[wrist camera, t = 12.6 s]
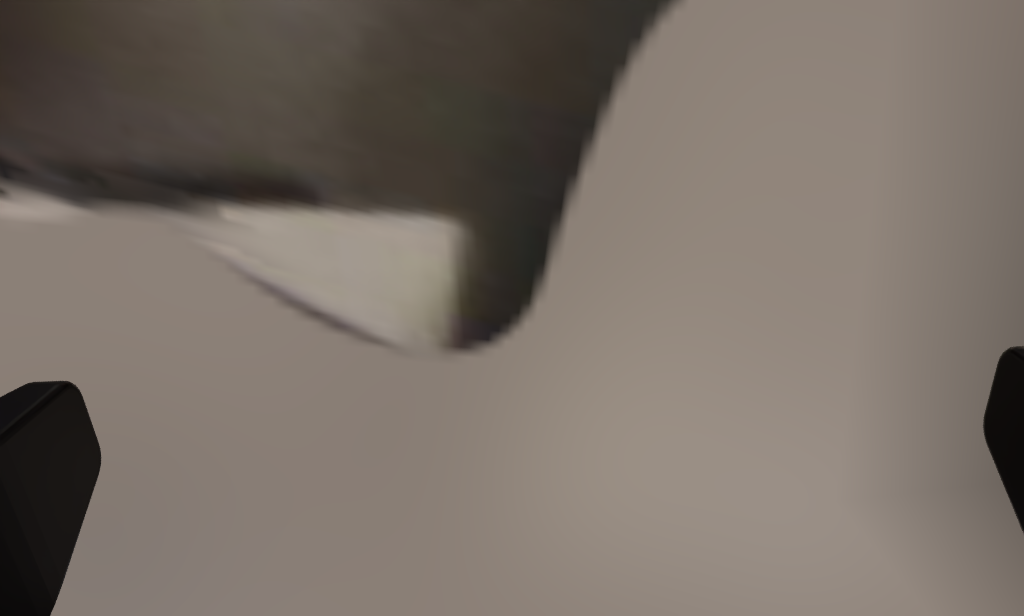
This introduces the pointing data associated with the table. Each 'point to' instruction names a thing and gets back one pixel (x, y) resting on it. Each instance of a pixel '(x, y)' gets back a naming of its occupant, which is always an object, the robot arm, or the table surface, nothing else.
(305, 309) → the table surface
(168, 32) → the table surface
